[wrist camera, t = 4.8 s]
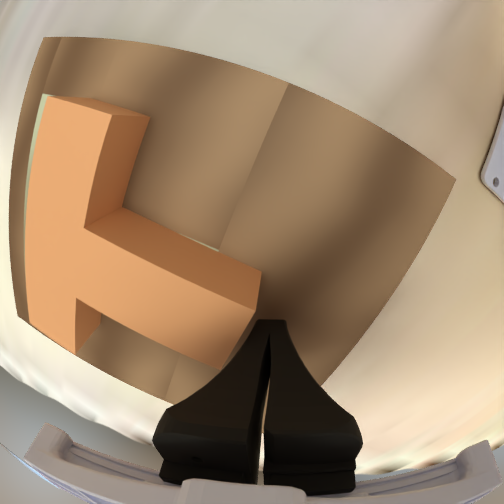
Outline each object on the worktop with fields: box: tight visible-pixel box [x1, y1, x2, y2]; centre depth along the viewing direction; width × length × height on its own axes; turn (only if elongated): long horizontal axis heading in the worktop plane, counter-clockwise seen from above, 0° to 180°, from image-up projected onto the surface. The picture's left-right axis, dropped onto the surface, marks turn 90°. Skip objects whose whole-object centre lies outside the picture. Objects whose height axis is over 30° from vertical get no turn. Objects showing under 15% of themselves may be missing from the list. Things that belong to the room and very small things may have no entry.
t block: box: [25, 96, 262, 370], centre depth 11 cm, size 10×12×3 cm
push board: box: [9, 37, 456, 433], centre depth 14 cm, size 22×20×1 cm
